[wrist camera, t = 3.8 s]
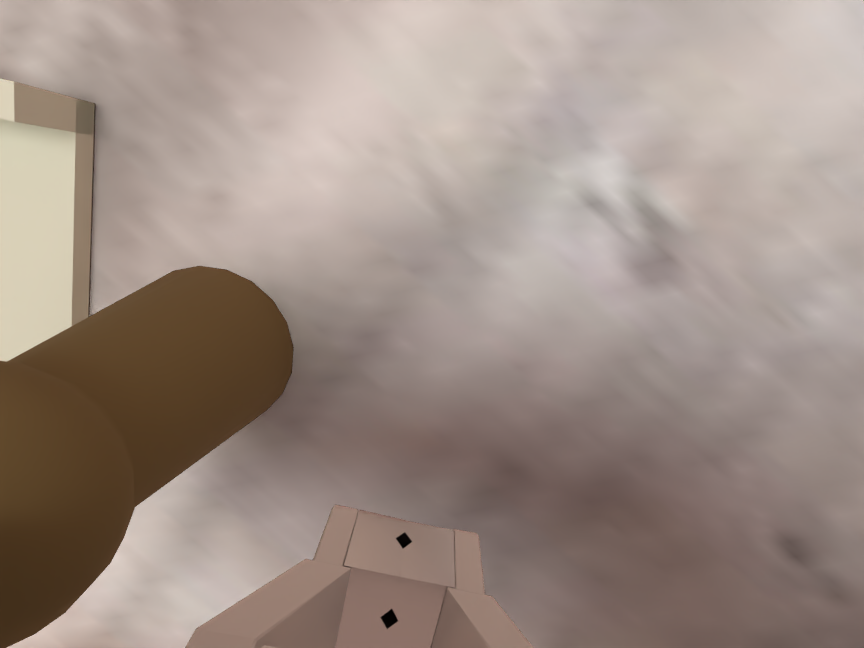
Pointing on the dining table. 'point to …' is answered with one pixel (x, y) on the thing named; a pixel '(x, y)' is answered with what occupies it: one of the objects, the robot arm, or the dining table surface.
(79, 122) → the tray
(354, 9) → the dining table surface
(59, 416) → the brown chess pawn
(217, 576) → the dining table surface
